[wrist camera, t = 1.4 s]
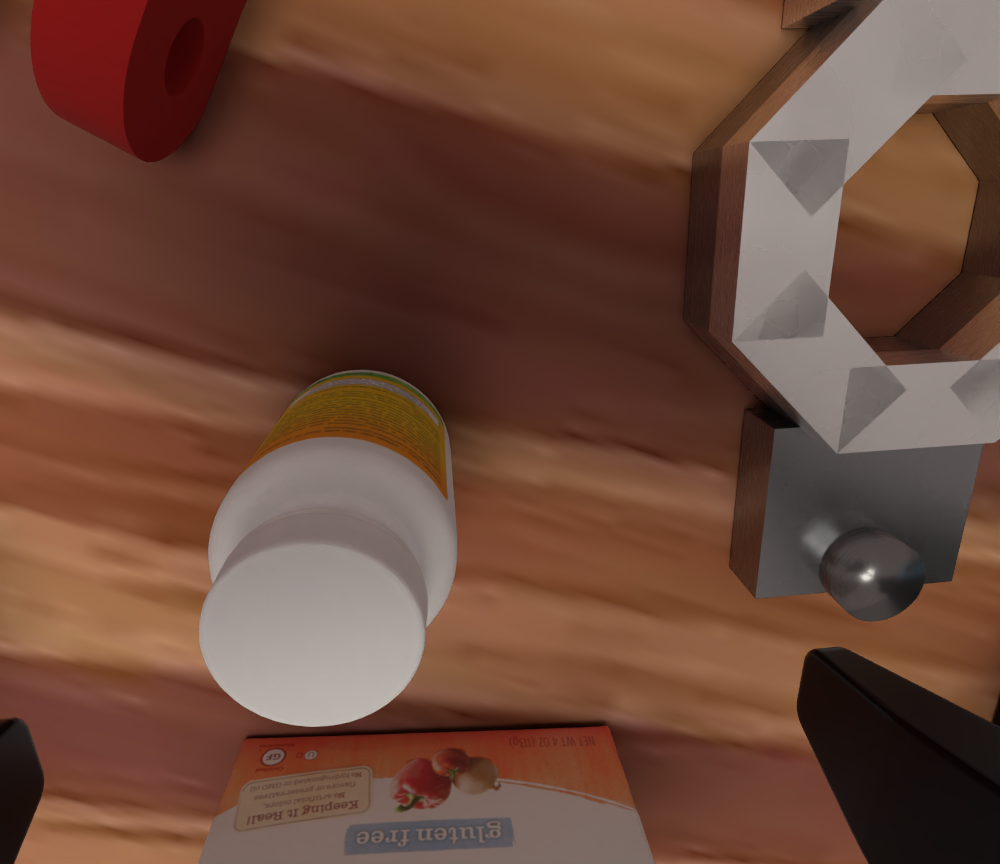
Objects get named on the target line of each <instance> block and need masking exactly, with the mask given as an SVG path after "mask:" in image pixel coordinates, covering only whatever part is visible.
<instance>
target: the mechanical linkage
mask: <svg viewBox="0 0 1000 864" xmlns="http://www.w3.org/2000/svg"><path fill="white" fill-rule="evenodd" d="M245 2H246V0H34V4H33V11H32V19H31V56H32V64H33V70H34V75H35V79H36V82H37V85H38V88H39V91H40V93H41V95H42V97H43V99H44V101H45V102H46V104H47V105H48V106H49V108H50V109H51V110H52V111H53V112H54V113H55V114H56V115H58V116H59V117H61V118H63V119H64V120H66V121H68V122H70V123H72V124H74V125H76V126H78V127H80V128H82V129H83V130H85V131H87V132H89V133H91V134H93V135H95V136H97V137H99V138H101V139H103V140H104V141H106V142H108V143H110V144H112V145H114V146H116V147H118V148H120V149H122V150H123V151H125V152H127V153H129V154H131V155H133V156H135V157H137V158H139V159H141V160H143V161H146V162H155V161H159V160H161V159H163V158H165V157H167V156H168V155H170V154H171V153H172V152H174V151H175V150H176V149H177V148H178V147H179V146H180V145H181V144H182V143H183V142H184V141H185V140H186V138H187V137H188V136H189V135H190V133H191V132H192V131H193V129H194V128H195V126H196V125H197V123H198V121H199V120H200V118H201V117H202V115H203V112H204V110H205V107H206V105H207V102H208V99H209V97H210V94H211V91H212V89H213V86H214V84H215V81H216V78H217V76H218V73H219V70H220V68H221V65H222V63H223V60H224V57H225V55H226V52H227V49H228V47H229V44H230V42H231V39H232V36H233V34H234V31H235V28H236V26H237V23H238V21H239V18H240V15H241V13H242V10H243V7H244V5H245Z"/></svg>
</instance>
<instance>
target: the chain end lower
mask: <svg viewBox="0 0 1000 864" xmlns="http://www.w3.org/2000/svg"><path fill="white" fill-rule="evenodd" d="M853 8H854V7H853ZM853 8H851V9H849V10H847V11H845V12H843V13H840V14H838V15H836V16H834V17H832V18H830V19H828V20H826V21H824V22H822V23H819V24H817V25H815V26H813V27H811V28H809V29H808V30H807V31H806V33H805V34H804V35H803V36H802V37H801V38H800V39H799V40H798V41H797V42H796V43H795V44H794V45H793V47H792V48H791V49H790V50H789V51H788V52H787V53H786V54H785V55H784V56H783V57H782V58H781V59H780V61H779V62H778V63H777V64H776V65H775V66H774V67H773V68H772V69H771V70H770V71H769V72H768V73H767V75H766V76H765V77H764V78H763V79H762V80H761V81H760V82H759V83H758V84H757V85H756V86H755V87H754V89H753V90H752V91H751V92H750V93H749V94H748V95H747V96H746V97H745V98H744V99H743V100H742V101H741V103H740V104H739V105H738V106H737V107H736V108H735V109H734V110H733V111H732V112H731V113H730V114H729V115H728V117H727V118H726V119H725V120H724V121H723V122H722V123H721V124H720V125H719V126H718V127H717V128H716V129H715V131H714V132H713V133H712V134H711V135H710V136H709V137H708V138H707V139H706V140H705V141H704V142H703V143H702V145H701V146H700V147H699V148H698V149H697V150H696V151H695V152H694V153H693V167H692V183H691V200H690V216H689V232H688V249H687V265H686V282H685V298H684V315H683V320H684V321H685V322H686V323H687V324H688V325H689V327H690V328H691V329H692V330H693V331H694V332H695V333H696V334H697V335H698V336H699V337H700V338H701V339H702V340H703V341H704V342H705V343H706V344H707V345H708V346H709V347H710V348H711V349H712V351H713V352H714V353H715V354H716V355H717V356H718V357H719V358H720V359H721V360H722V361H723V362H724V363H725V364H726V365H727V366H728V367H729V368H730V369H731V370H732V371H733V372H734V373H735V375H736V376H737V377H738V378H739V379H740V380H741V381H742V382H743V383H744V384H745V385H746V386H747V387H748V388H749V389H750V390H751V391H752V392H753V393H754V394H755V395H756V396H757V397H758V399H759V400H760V401H761V402H762V403H763V404H764V405H765V406H766V407H767V408H763V409H748V410H745V412H744V422H743V433H742V443H741V453H740V463H739V474H738V484H737V494H736V505H735V515H734V525H733V535H732V546H731V556H730V566H729V567H730V569H731V570H732V571H733V572H734V573H735V575H736V576H737V577H738V578H739V579H740V581H741V582H742V583H743V584H744V585H745V587H746V588H747V589H748V590H749V592H750V593H751V594H752V595H753V596H754V598H755V599H757V598H768V597H780V596H791V595H802V594H813V593H824V592H827V593H829V594H830V595H831V596H832V597H833V598H834V599H835V600H836V601H837V602H838V603H839V604H840V605H841V606H842V607H843V608H844V609H845V610H846V611H847V612H848V613H849V614H850V615H852V616H853V617H855V618H857V619H860V620H864V621H880V620H885V619H888V618H891V617H893V616H895V615H897V614H899V613H900V612H902V611H903V610H905V609H906V608H907V607H908V606H909V605H910V604H912V602H913V601H914V600H915V599H916V598H917V596H918V595H919V593H920V591H921V589H922V587H923V584H925V583H936V582H948V581H952V578H953V573H954V569H955V565H956V560H957V556H958V552H959V547H960V543H961V539H962V534H963V530H964V526H965V521H966V517H967V513H968V508H969V504H970V500H971V495H972V491H973V487H974V482H975V478H976V474H977V469H978V465H979V461H980V456H981V452H982V448H983V443H982V444H968V445H954V446H940V447H926V448H912V449H898V450H883V451H869V452H855V453H841V454H837V453H835V452H833V451H832V450H830V449H829V448H827V447H825V446H824V445H822V444H820V443H819V442H817V441H815V440H814V439H812V438H810V437H809V436H808V435H807V434H806V433H805V432H804V431H803V430H802V429H801V428H800V427H799V426H798V425H797V424H796V423H795V422H794V421H793V420H792V419H791V417H790V416H789V415H788V414H787V413H786V412H785V411H784V410H783V409H782V408H781V407H780V406H779V405H778V404H777V403H776V402H775V401H774V400H773V398H772V397H771V396H770V395H769V394H768V393H767V392H766V391H765V390H764V389H763V388H762V387H761V386H760V385H759V384H758V383H757V382H756V381H755V380H754V378H753V377H752V376H751V375H750V374H749V373H748V372H747V371H746V370H745V369H744V368H743V367H742V366H741V365H740V364H739V363H738V362H737V361H736V359H735V358H734V357H733V356H732V355H731V354H730V353H729V352H728V351H727V350H726V349H725V348H724V347H723V346H722V345H721V344H720V343H719V342H718V340H717V339H716V338H715V337H714V336H713V335H712V334H711V333H710V332H709V324H710V311H711V297H712V284H713V271H714V257H715V244H716V230H717V217H718V204H719V190H720V177H721V163H722V150H723V146H724V145H725V144H726V143H727V142H728V141H729V140H730V139H731V138H732V137H733V136H734V135H735V134H736V133H737V131H738V130H739V129H740V128H741V127H742V126H743V125H744V124H745V123H746V122H747V121H748V120H749V119H750V118H751V117H752V115H753V114H754V113H755V112H756V111H757V110H758V109H759V108H760V107H761V106H762V105H763V104H764V103H765V102H766V100H767V99H768V98H769V97H770V96H771V95H772V94H773V93H774V92H775V91H776V90H777V89H778V88H779V87H780V86H781V84H782V83H783V82H784V81H785V80H786V79H787V78H788V77H789V76H790V75H791V74H792V73H793V72H794V71H795V70H796V68H797V67H798V66H799V65H800V64H801V63H802V62H803V61H804V60H805V59H806V58H807V57H808V56H809V55H810V54H811V52H812V51H813V50H814V49H815V48H816V47H817V46H818V45H819V44H820V43H821V42H822V41H823V40H824V39H825V38H826V36H827V35H828V34H829V33H830V32H831V31H832V30H833V29H834V28H835V27H836V26H837V25H838V24H839V23H840V22H841V20H842V19H843V18H844V17H845V16H846V15H847V14H848V13H849V12H850V11H851V10H852V9H853ZM915 113H933V114H934V116H935V117H936V118H937V120H938V121H939V123H940V124H941V126H942V127H943V129H944V130H945V131H946V133H947V134H948V136H949V137H950V139H951V140H952V142H953V143H954V144H955V146H956V147H957V149H958V150H959V152H960V153H961V155H962V156H963V157H964V159H965V160H966V162H967V163H968V165H969V166H970V168H971V169H972V171H973V172H974V173H975V175H976V176H977V178H978V179H979V181H980V184H979V189H978V194H977V199H976V204H975V209H974V214H973V219H972V224H971V229H970V234H969V239H968V244H967V249H966V254H965V259H964V264H963V269H962V273H961V274H960V275H959V276H958V277H957V278H956V279H955V280H954V281H953V282H952V283H951V284H950V285H949V286H947V287H946V288H945V289H944V290H943V291H942V292H941V293H940V294H939V295H938V296H937V297H936V298H935V299H934V300H933V301H931V302H930V303H929V304H928V305H927V306H926V307H925V308H924V309H923V310H922V311H921V312H920V313H919V314H918V315H917V316H915V317H914V318H913V319H912V320H911V321H910V322H909V323H908V324H907V325H906V326H905V327H904V328H903V329H902V330H900V331H899V332H898V333H897V334H896V335H895V336H891V337H873V338H863V339H864V340H865V341H866V342H867V344H868V345H869V346H870V347H871V348H872V350H873V351H874V352H875V353H879V352H896V351H913V350H931V349H940V348H941V347H942V346H943V345H944V344H946V343H947V342H948V341H949V340H950V339H951V338H952V337H953V336H954V335H955V334H956V333H958V332H959V331H960V330H961V329H962V328H963V327H964V326H965V325H966V324H967V323H968V322H970V321H971V320H972V319H973V318H974V317H975V316H976V315H977V314H978V313H979V312H980V311H981V310H983V309H984V308H985V307H986V306H987V305H988V304H989V303H990V302H991V301H992V300H993V299H995V298H996V297H997V296H998V295H999V294H1000V120H999V118H998V117H997V115H996V114H995V112H994V111H993V109H992V108H991V106H990V105H989V103H988V102H983V103H942V104H923V105H922V106H921V107H920V108H919V109H918V110H917V111H916V112H915Z"/></svg>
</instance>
